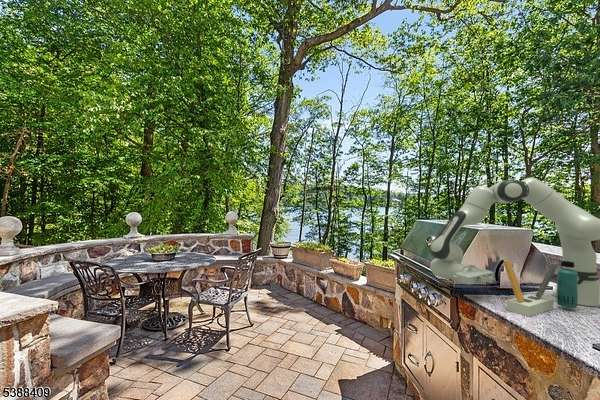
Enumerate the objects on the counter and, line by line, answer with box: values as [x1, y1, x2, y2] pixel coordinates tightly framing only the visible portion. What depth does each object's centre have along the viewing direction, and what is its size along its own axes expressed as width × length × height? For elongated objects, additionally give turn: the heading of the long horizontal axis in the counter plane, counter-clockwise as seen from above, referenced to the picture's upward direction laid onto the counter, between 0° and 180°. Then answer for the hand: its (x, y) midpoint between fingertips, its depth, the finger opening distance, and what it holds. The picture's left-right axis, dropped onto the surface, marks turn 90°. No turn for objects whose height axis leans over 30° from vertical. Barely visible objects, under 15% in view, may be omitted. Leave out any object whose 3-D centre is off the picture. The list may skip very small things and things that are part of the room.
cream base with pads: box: [505, 292, 554, 318], centre depth 119 cm, size 20×8×4 cm, turn 118°
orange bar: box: [502, 260, 524, 301], centre depth 118 cm, size 3×1×16 cm, turn 118°
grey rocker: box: [535, 262, 559, 297], centre depth 120 cm, size 3×1×16 cm, turn 118°
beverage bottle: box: [556, 260, 578, 309], centre depth 119 cm, size 6×7×20 cm
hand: (493, 280), depth 125 cm, fingers closed
